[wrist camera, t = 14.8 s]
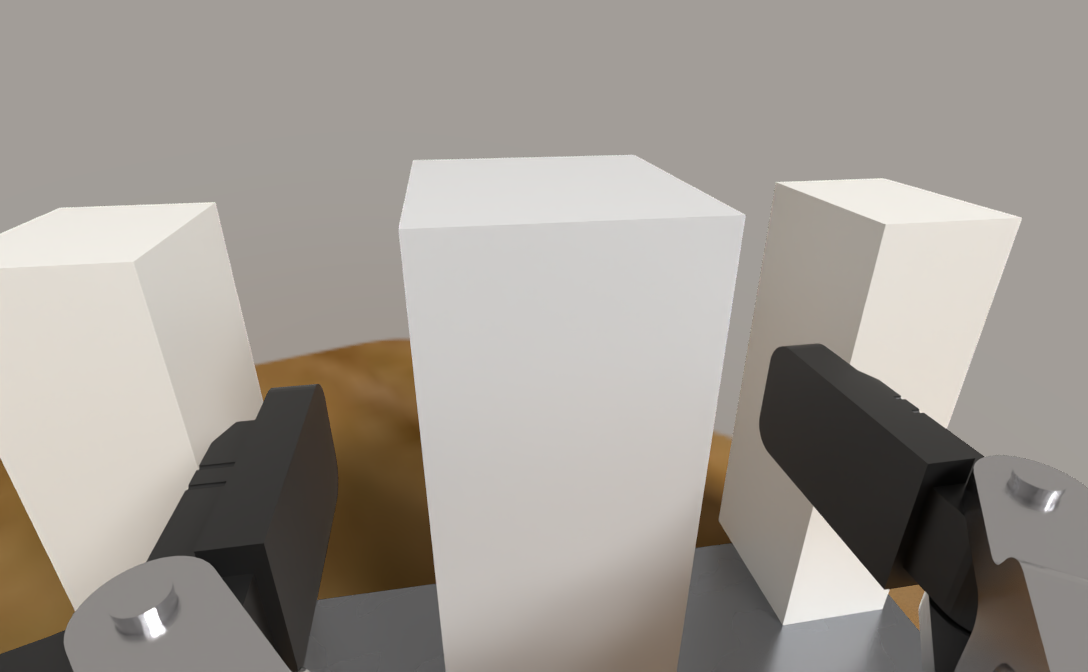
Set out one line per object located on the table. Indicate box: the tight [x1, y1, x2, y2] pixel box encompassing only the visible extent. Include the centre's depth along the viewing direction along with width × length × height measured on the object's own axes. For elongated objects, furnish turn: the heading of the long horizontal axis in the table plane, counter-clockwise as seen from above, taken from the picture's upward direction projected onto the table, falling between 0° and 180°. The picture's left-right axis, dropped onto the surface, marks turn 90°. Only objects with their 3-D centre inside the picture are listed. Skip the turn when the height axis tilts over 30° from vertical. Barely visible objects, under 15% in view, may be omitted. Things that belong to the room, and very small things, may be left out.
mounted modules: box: [0, 178, 1022, 625], centre depth 14 cm, size 19×4×11 cm, turn 100°
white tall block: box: [398, 155, 746, 672], centre depth 12 cm, size 4×5×12 cm
